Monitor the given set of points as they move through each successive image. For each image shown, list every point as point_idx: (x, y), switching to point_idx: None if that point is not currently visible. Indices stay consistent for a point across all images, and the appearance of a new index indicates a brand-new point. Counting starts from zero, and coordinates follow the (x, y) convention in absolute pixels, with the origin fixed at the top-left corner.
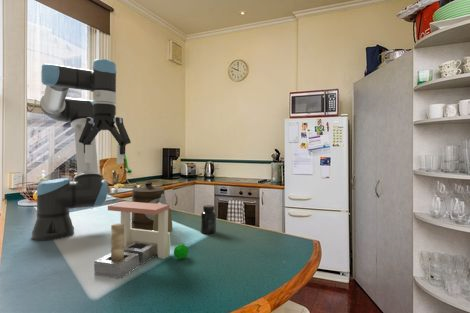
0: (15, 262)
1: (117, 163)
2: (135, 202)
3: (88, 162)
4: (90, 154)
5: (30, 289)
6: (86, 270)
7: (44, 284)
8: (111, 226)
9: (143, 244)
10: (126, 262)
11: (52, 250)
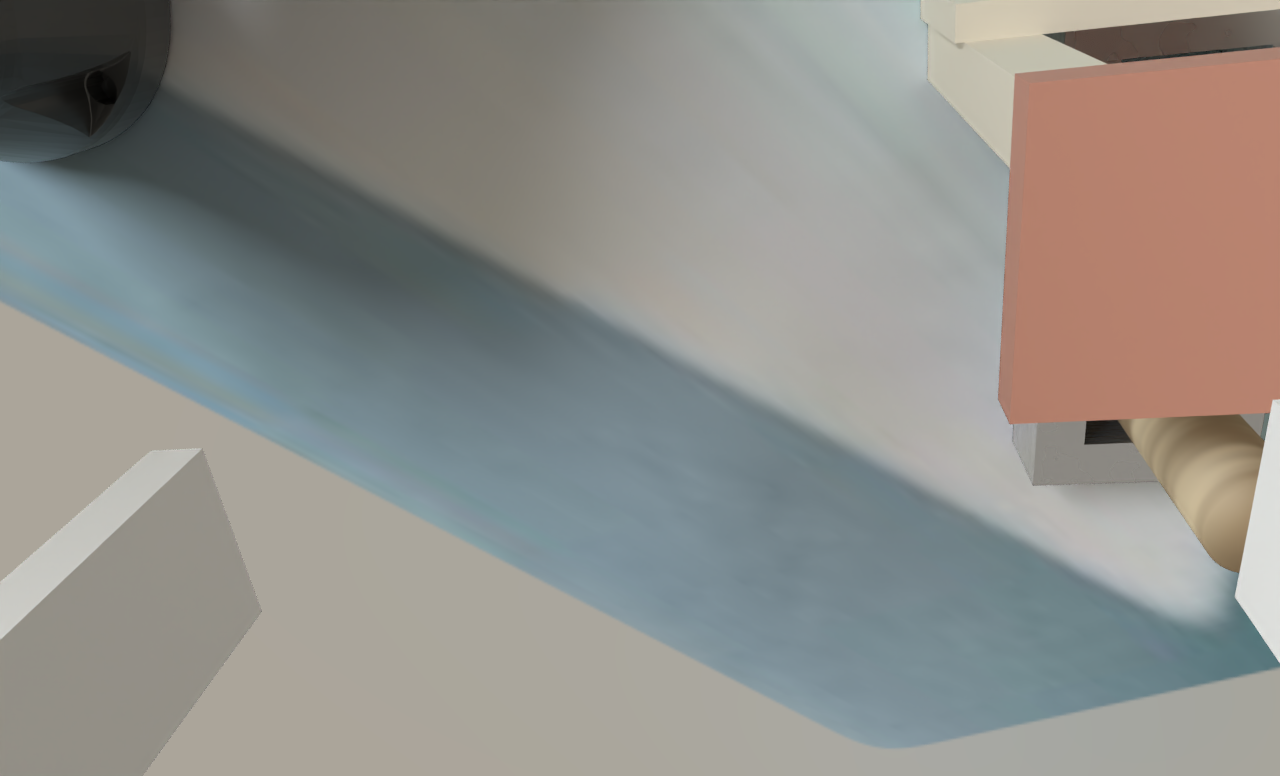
0: (425, 474)
1: (1265, 606)
2: (1256, 94)
3: (242, 565)
4: (84, 660)
5: (827, 642)
6: (920, 416)
7: (843, 595)
8: (1218, 563)
9: (1198, 49)
10: (1260, 419)
11: (403, 258)
